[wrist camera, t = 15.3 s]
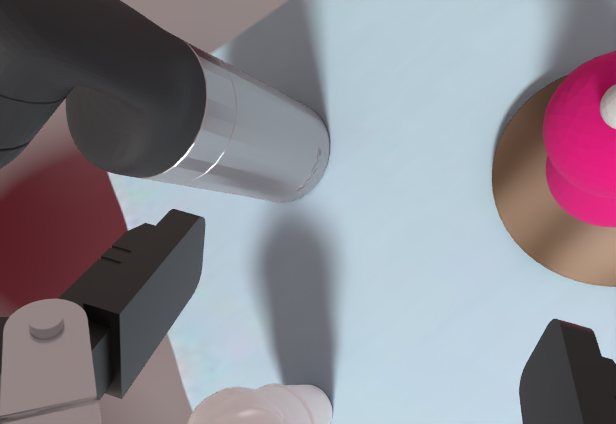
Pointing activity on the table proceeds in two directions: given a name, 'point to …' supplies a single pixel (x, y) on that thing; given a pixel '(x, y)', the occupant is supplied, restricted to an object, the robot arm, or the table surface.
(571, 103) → the pepper mill
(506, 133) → the walnut board
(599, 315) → the table surface
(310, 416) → the soft serve ice cream cone
